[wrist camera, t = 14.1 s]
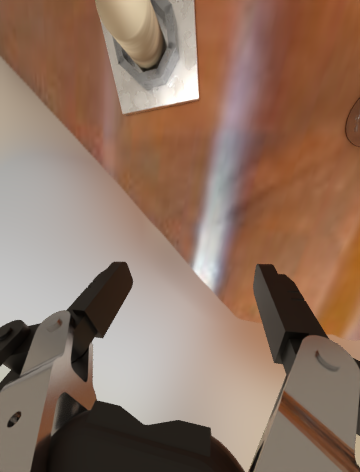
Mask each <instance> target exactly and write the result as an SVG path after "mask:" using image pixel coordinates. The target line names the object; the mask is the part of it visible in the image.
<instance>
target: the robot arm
mask: <svg viewBox="0 0 360 472" xmlns="http://www.w3.org/2000/svg"><path fill="white" fill-rule="evenodd" d="M346 133H347V137H348V139H349V140H350V142H351V143H353V144H354V145H356V146H359V147H360V98H359V100H358V101H357V102H356V104H355V105H354V107H353V108H352V110H351V112H350V115H349V117H348V120H347V124H346ZM132 285H133V279H132V276H131V273H130V271H129V268H128V265H127V263H126V262H113V263H112V264H111V265H110V266H109V267H108V268H107V269H106V270H104V271H103V272H101V273H100V274H99V275H98V276H97V277H96V278H95V279H94V280H93V282H92V283H90V285H89V286H88V288H86V289H85V290H84V291H83V292H82V294H81V295H80V296H79V297H78V298H77V299H76V300H75V301H74V303H73V304H72V305H71V306H70V307H69V308H68V309H67V310H66V311H65V310H64V311H59V312H56V313H54V314H52V315H51V316H49V317H48V318H46V319H45V320H44V321H43V322H42V323H40V324H36V325H31V326H27V325H26V324H25V323H24V322H23V321H21V320H15V321H12V322H10V323H7V324H6V325H4V326H2V327H0V366H1V365H2V364H4V365H5V366H6V367H8V368H9V369H11V371H10V372H9V373H8V374H7V376H6V377H5V378H4V379H3V380H2V381H1V383H0V472H245V471H244V470H243V468H242V467H241V465H240V464H239V463H238V461H237V460H236V458H235V457H234V456H233V455H232V454H231V452H230V451H229V450H228V449H227V448H226V447H225V446H224V445H223V444H221V442H219V441H218V440H217V439H215V438H214V437H212V436H211V429H210V428H209V427H205V426H201V425H197V424H193V423H188V422H184V421H180V420H176V421H170V422H164V423H158V424H152V425H143V424H142V423H141V422H140V421H138V420H137V419H136V418H135V417H133V416H132V415H131V414H130V413H128V412H127V411H126V410H124V409H123V408H122V407H121V406H118V405H114V404H109V403H105V402H101V401H97V399H96V394H95V391H94V388H93V382H92V381H93V380H92V378H93V376H92V375H93V344H92V340H93V339H94V337H98V338H103V337H104V335H105V334H106V332H107V330H108V328H109V327H110V324H111V323H112V321H113V320H114V318H115V316H116V314H117V313H118V311H119V309H120V307H121V305H122V304H123V302H124V300H125V299H126V297H127V295H128V293H129V292H130V290H131V288H132ZM253 289H254V295H255V299H256V302H257V306H258V309H259V313H260V316H261V319H262V323H263V326H264V330H265V333H266V337H267V340H268V343H269V347H270V350H271V354H272V357H273V361H274V363H278V364H283V366H284V369H285V372H286V377H285V379H284V382H283V385H282V388H281V390H280V392H279V395H278V398H277V400H276V403H275V405H274V408H273V411H272V414H271V416H270V418H269V421H268V423H267V426H266V428H265V431H264V433H263V435H262V438H261V440H260V443H259V445H258V448H257V450H256V453H255V456H254V458H253V461H252V463H251V466H250V469H249V471H248V472H360V467H359V466H358V465H357V463H356V460H355V440H356V434H358V435H359V436H360V361H358V360H356V359H354V358H352V357H351V355H350V354H349V353H348V352H347V351H346V350H344V349H343V348H342V347H341V346H340V345H338V344H337V343H335V342H333V341H332V340H330V339H329V338H328V337H327V335H326V334H325V332H324V330H323V329H322V327H321V325H320V324H319V322H318V321H317V319H316V317H315V316H314V314H313V312H312V311H311V309H310V308H309V306H308V304H307V303H306V301H304V298H303V296H302V294H301V293H300V291H299V290H298V288H297V286H296V285H295V283H294V282H293V281H292V280H291V279H290V278H288V277H287V276H286V275H285V274H278V273H277V271H276V269H275V267H274V266H273V265H272V264H257V265H256V270H255V277H254V284H253Z"/></svg>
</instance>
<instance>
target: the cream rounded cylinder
mask: <svg viewBox="0 0 360 472" xmlns="http://www.w3.org/2000/svg"><path fill="white" fill-rule="evenodd" d="M95 2H96V7H97V11H98V14H99V16H100V19H101V21H102V23H103V25H104V26H105V28H106V29H107V30H108V31H109V32H110V34H111V35H112V36H113V37H114V38H115V39H116V41H117V42H118V43H119V44H120V45H121V47H122V48H123V49H124V50H125V51H126V52H127V54H128V55H129V56H130V57H131V58H132V60H133V61H134V62H135V63H136V64H137V65H138V67H139V68H140V69H141V70H142V71H143V72H146V71H149V70H153V69H157V68H158V66H159V64H160V62H161V59H162V57H163V55H164V53H165V51H166V48H167V44H166V40H165V38H164V35H163V32H162V30H161V27H160V25H159V22H158V19H157V17H156V14H155V12H154V9H153V6H152V4H151V1H150V0H95Z"/></svg>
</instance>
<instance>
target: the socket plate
mask: <svg viewBox="0 0 360 472" xmlns="http://www.w3.org/2000/svg"><path fill="white" fill-rule="evenodd" d="M150 1H151V4H152V6H153V9H154V12H155V14H156V17H157V19H158V22H159V25H160V27H161V30H162V32H163V35H164V38H165V40H166V44H167V48H166V51H165V53H164V55H163V57H162V59H161V62H160V64H159V66H158V68H157V69H153V70H149V71H146V72H143V71H142V70H141V69H140V68H139V67H138V65H137V64H136V63H135V62H134V61H133V60H132V58H131V57H130V56H129V55H128V54H127V52H126V51H125V50H124V49H123V48H122V47H121V45H120V44H119V43H118V42H117V41H116V39H115V38H114V37H113V36H112V35H111V34H110V32H109V31H108V30H107V29H106V28H105V26H104V25H103V23H102V21H101V19H100V21H101V25H102V29H103V33H104V37H105V42H106V46H107V50H108V54H109V58H110V63H111V67H112V71H113V75H114V79H115V83H116V88H117V92H118V96H119V100H120V104H121V109H122V113H123V114H124V115H126V116H127V115H132V114H137V113H142V112H146V111H151V110H156V109H161V108H166V107H171V106H176V105H181V104H185V103H190V102H195V101H199V85H198V64H197V43H196V22H195V1H194V0H150ZM99 17H100V16H99Z"/></svg>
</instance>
